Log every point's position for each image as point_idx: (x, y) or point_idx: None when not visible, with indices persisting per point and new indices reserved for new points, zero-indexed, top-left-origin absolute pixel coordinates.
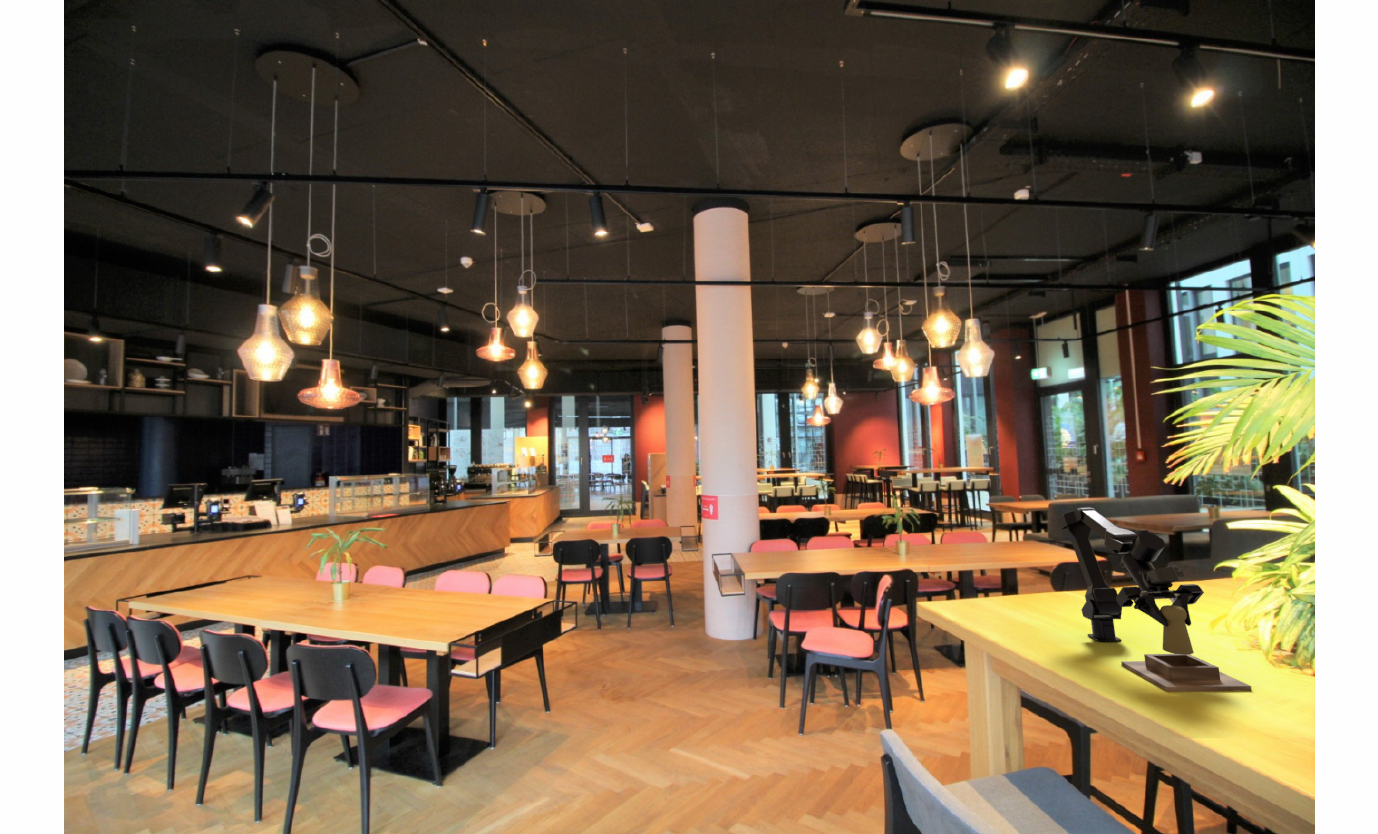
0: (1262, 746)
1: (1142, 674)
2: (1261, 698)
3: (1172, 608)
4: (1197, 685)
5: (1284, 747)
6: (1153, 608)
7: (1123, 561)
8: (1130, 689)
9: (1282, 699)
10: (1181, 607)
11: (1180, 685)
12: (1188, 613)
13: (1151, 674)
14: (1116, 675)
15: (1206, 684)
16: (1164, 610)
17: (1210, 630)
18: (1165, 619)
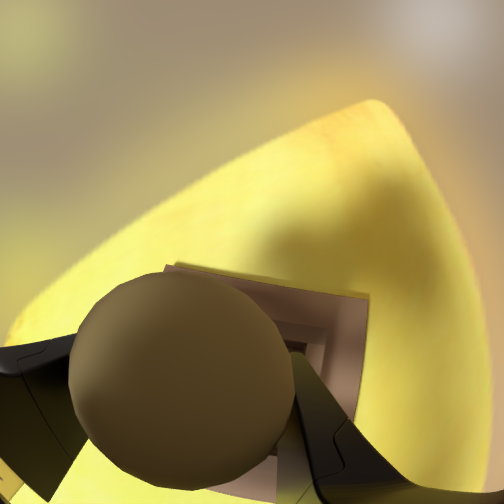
0: (358, 129)
1: (354, 408)
2: (197, 232)
3: (215, 316)
4: (285, 294)
5: (336, 123)
6: (370, 445)
7: None
8: (430, 328)
9: (167, 222)
10: (84, 327)
11: (327, 303)
12: (75, 333)
13: (338, 395)
14: (403, 427)
15: (255, 296)
16: (286, 379)
17: None
18: (295, 368)
